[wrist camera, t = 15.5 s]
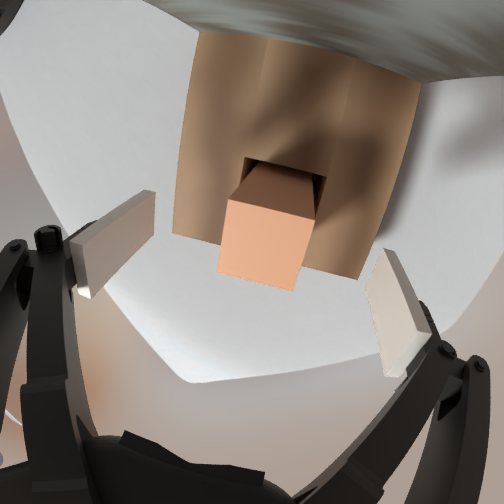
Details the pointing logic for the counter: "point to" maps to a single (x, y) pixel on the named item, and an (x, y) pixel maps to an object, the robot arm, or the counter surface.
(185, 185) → the socket stand
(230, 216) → the peg
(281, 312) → the counter surface
